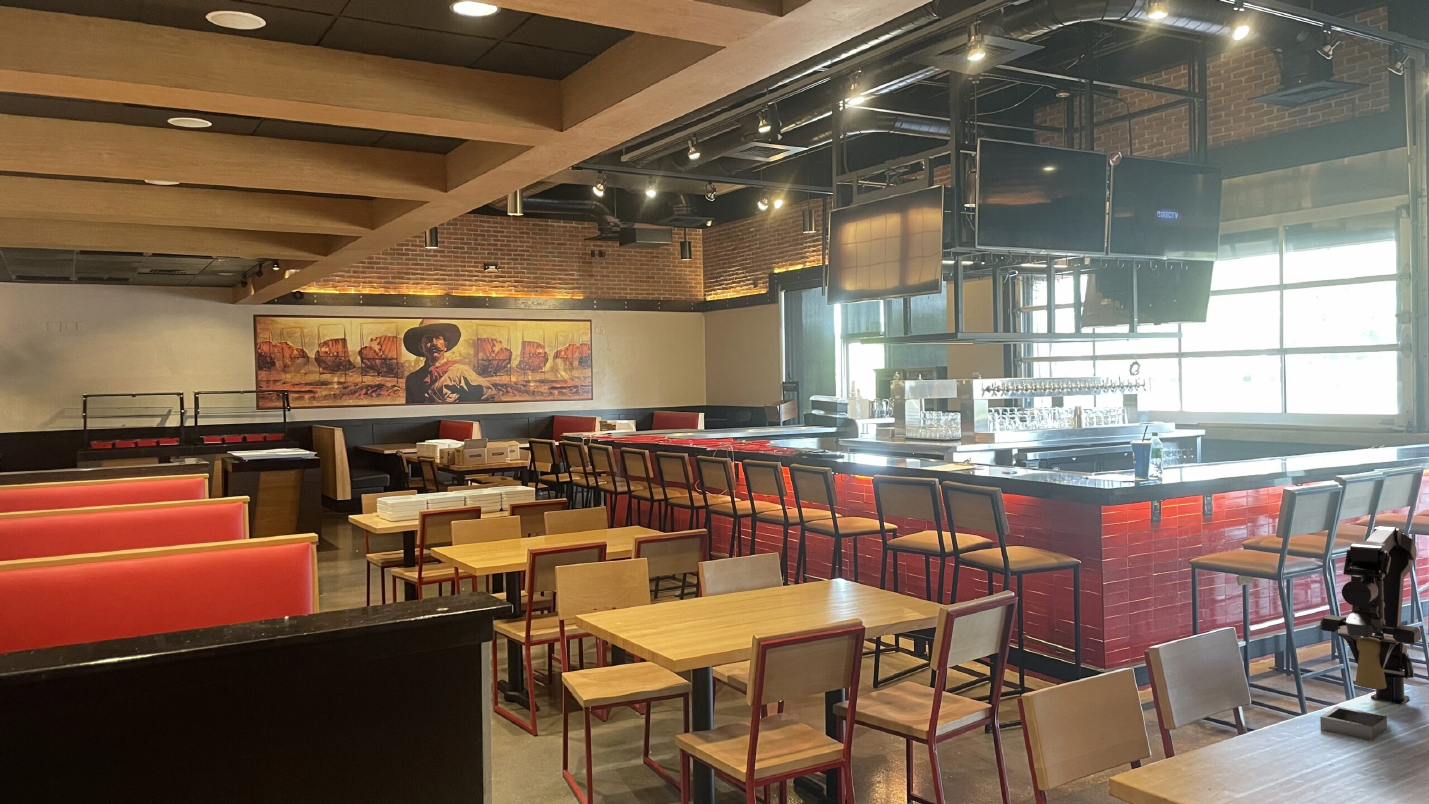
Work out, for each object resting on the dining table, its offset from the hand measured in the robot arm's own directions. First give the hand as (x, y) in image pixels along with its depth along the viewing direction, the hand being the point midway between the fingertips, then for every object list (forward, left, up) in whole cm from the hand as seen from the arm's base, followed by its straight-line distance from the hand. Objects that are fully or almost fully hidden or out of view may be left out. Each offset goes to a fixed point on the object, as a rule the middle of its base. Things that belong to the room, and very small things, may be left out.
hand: (1370, 665), depth 224 cm
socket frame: (+12, 0, -12) cm, 17 cm away
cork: (0, 0, -5) cm, 5 cm away
